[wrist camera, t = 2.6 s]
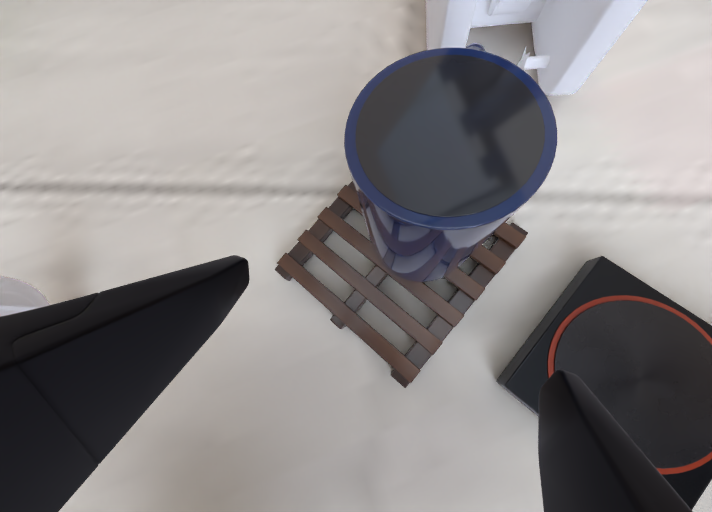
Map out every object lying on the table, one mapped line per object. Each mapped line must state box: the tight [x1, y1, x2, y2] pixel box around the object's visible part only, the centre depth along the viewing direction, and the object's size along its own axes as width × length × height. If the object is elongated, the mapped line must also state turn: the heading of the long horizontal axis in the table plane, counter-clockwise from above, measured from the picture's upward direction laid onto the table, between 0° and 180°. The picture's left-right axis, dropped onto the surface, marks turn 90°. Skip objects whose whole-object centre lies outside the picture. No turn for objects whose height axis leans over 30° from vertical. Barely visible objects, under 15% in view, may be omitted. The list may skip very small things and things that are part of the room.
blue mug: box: [344, 43, 557, 282], centre depth 15 cm, size 10×7×11 cm
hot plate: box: [496, 256, 712, 510], centre depth 17 cm, size 10×10×2 cm
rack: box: [275, 181, 528, 388], centre depth 21 cm, size 13×12×1 cm
